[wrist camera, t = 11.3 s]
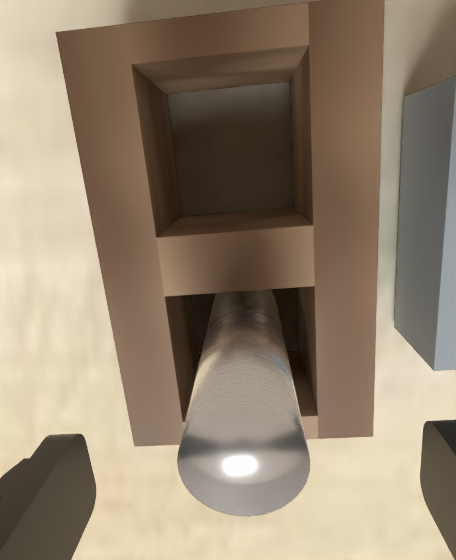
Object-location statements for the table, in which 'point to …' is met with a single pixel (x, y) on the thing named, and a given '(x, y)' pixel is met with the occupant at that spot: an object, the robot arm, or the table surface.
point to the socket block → (428, 226)
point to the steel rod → (244, 412)
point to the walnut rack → (238, 225)
